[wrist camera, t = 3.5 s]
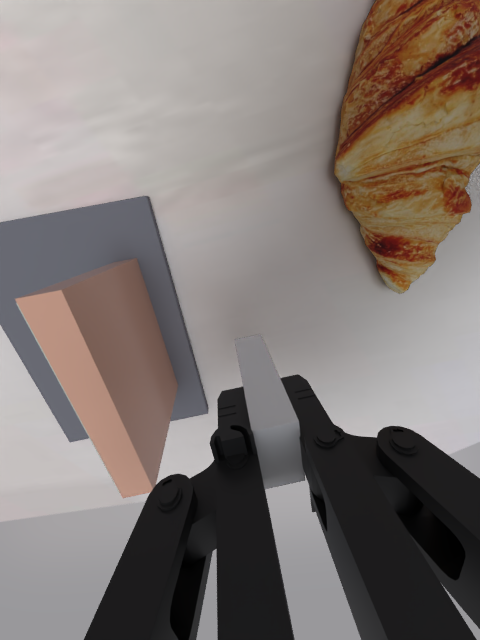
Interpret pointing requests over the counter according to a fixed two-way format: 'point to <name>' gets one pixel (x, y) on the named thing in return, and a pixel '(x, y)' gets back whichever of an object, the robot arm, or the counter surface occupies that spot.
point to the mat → (80, 257)
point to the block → (109, 366)
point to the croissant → (411, 130)
